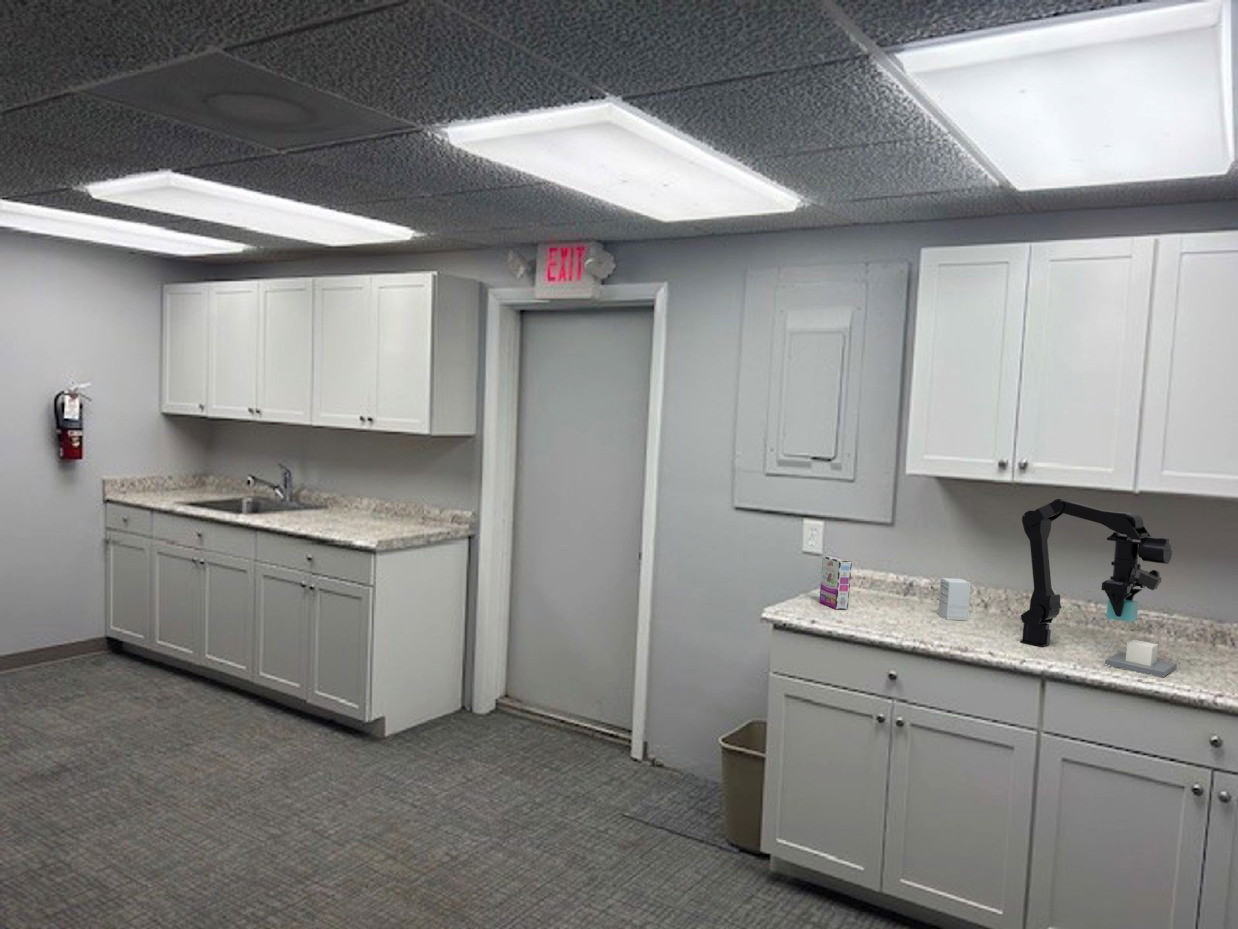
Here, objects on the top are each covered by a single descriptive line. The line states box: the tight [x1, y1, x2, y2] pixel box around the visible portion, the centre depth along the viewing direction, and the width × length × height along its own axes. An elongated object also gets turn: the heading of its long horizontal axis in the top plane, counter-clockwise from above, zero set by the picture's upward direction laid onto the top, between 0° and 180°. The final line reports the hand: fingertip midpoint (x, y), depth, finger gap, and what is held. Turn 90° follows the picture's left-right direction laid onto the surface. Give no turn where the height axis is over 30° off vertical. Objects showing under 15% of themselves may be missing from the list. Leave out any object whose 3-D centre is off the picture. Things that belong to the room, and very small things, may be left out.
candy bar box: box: [818, 555, 853, 611], centre depth 297 cm, size 11×5×16 cm, turn 17°
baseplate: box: [1104, 651, 1178, 679], centre depth 241 cm, size 14×14×2 cm
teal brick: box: [1106, 599, 1139, 623], centre depth 242 cm, size 6×6×5 cm
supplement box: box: [937, 577, 972, 622], centre depth 290 cm, size 7×7×13 cm
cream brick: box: [1125, 639, 1159, 666], centre depth 241 cm, size 6×6×5 cm
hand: (1121, 615), depth 242 cm, fingers closed on teal brick, 6 cm apart
